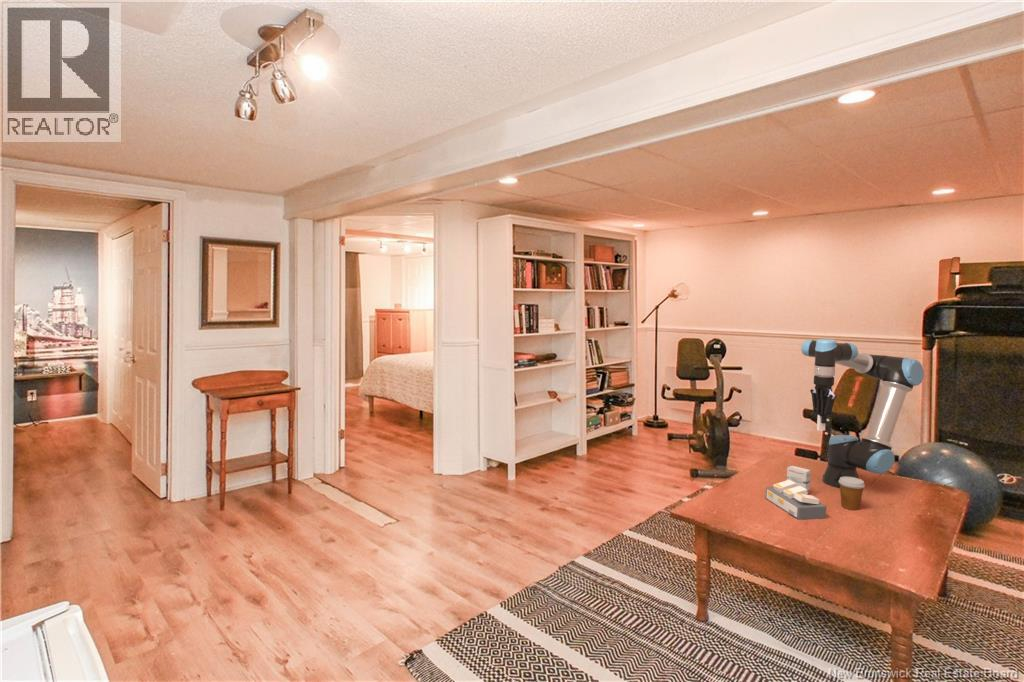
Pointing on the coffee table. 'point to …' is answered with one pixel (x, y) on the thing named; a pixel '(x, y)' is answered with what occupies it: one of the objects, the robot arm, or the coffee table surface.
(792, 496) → the rocker
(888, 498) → the coffee table surface
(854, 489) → the disposable coffee cup
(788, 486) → the rocker
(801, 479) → the ink box
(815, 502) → the block
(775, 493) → the switch unit
